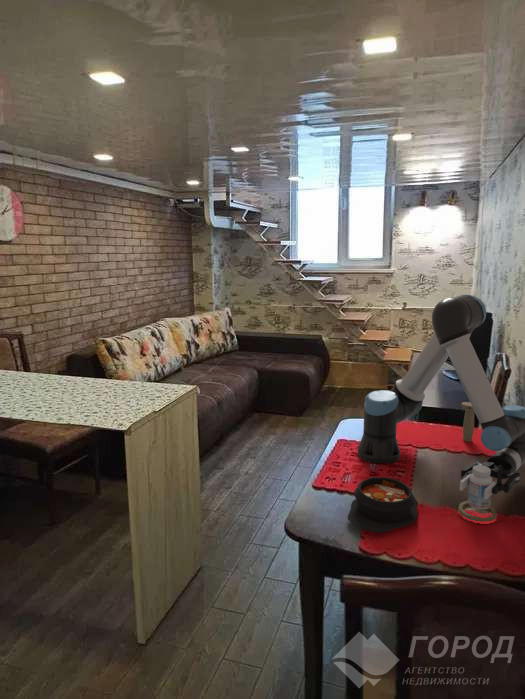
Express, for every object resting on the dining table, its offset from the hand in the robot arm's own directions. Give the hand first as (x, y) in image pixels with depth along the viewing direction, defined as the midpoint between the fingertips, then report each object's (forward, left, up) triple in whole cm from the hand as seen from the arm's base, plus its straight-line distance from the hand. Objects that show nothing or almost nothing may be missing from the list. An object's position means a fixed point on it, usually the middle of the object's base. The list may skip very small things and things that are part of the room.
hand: (473, 490), depth 136 cm
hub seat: (+4, +4, -10) cm, 11 cm away
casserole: (-23, +4, -10) cm, 26 cm away
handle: (+23, +57, -10) cm, 62 cm away
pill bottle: (+4, +4, -7) cm, 8 cm away
